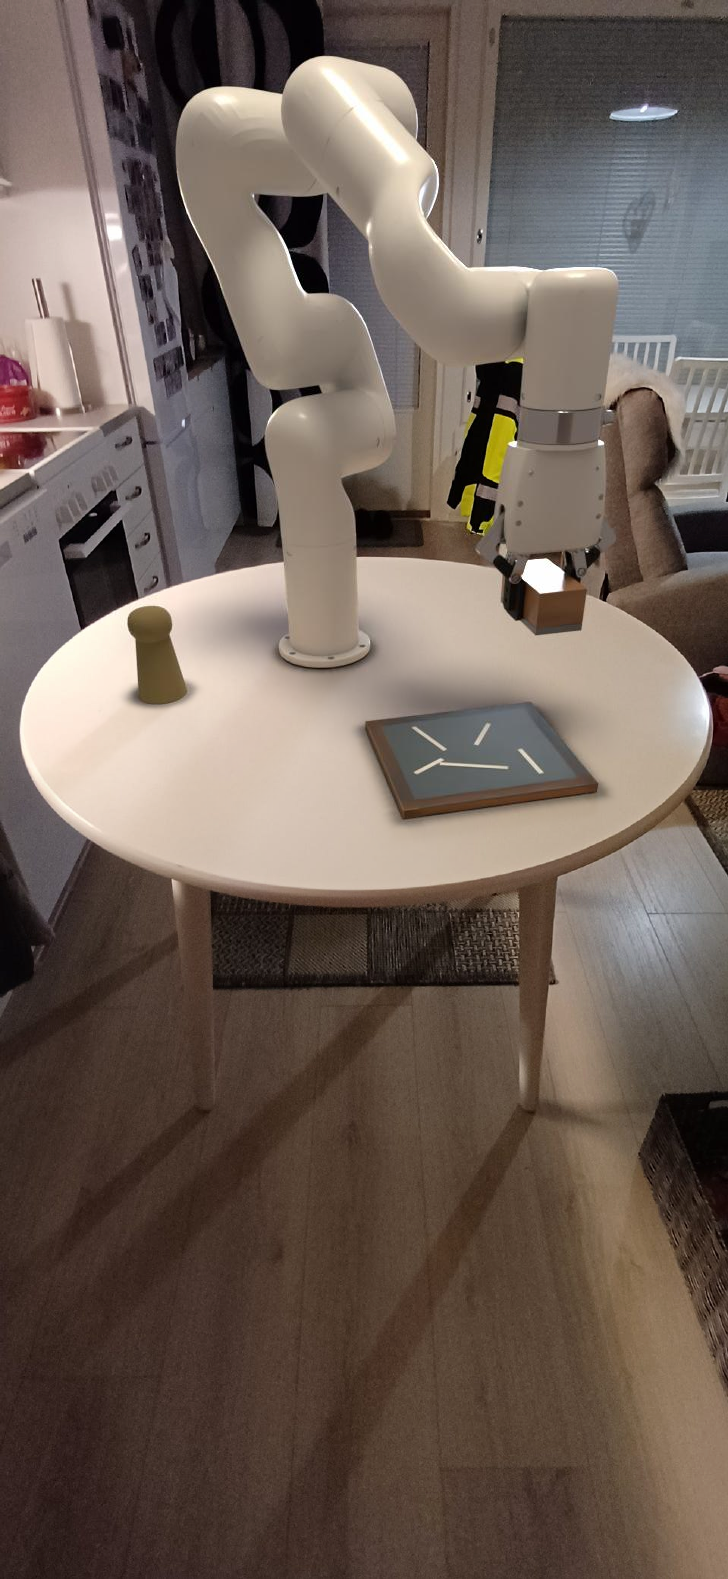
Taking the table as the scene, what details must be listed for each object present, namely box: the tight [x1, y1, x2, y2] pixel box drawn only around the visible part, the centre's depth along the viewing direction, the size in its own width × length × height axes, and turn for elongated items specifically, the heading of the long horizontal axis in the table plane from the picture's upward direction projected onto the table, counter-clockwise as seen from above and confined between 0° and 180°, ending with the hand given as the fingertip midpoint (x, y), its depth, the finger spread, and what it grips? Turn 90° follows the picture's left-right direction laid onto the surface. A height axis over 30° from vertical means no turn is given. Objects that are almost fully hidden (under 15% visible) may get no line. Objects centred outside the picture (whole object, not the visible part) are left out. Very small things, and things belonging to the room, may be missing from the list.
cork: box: [126, 605, 188, 705], centre depth 94 cm, size 6×6×11 cm
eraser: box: [500, 558, 588, 636], centre depth 81 cm, size 10×5×4 cm, turn 12°
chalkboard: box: [364, 701, 599, 819], centre depth 83 cm, size 18×20×1 cm
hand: (539, 611), depth 82 cm, fingers closed on eraser, 5 cm apart
